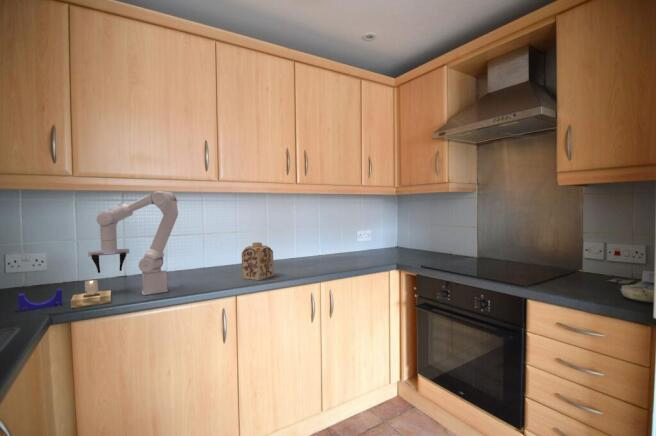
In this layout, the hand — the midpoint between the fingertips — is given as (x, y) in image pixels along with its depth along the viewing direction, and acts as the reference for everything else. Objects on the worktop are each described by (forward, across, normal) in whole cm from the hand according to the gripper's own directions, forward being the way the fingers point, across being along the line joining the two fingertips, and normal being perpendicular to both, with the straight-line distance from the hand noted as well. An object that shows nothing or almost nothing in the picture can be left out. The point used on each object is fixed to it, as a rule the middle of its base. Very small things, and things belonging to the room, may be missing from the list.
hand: (110, 271), depth 141 cm
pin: (+9, +6, +13) cm, 17 cm away
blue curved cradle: (+10, +22, +8) cm, 25 cm away
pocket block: (+9, +6, +13) cm, 17 cm away
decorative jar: (+10, -63, +9) cm, 64 cm away
